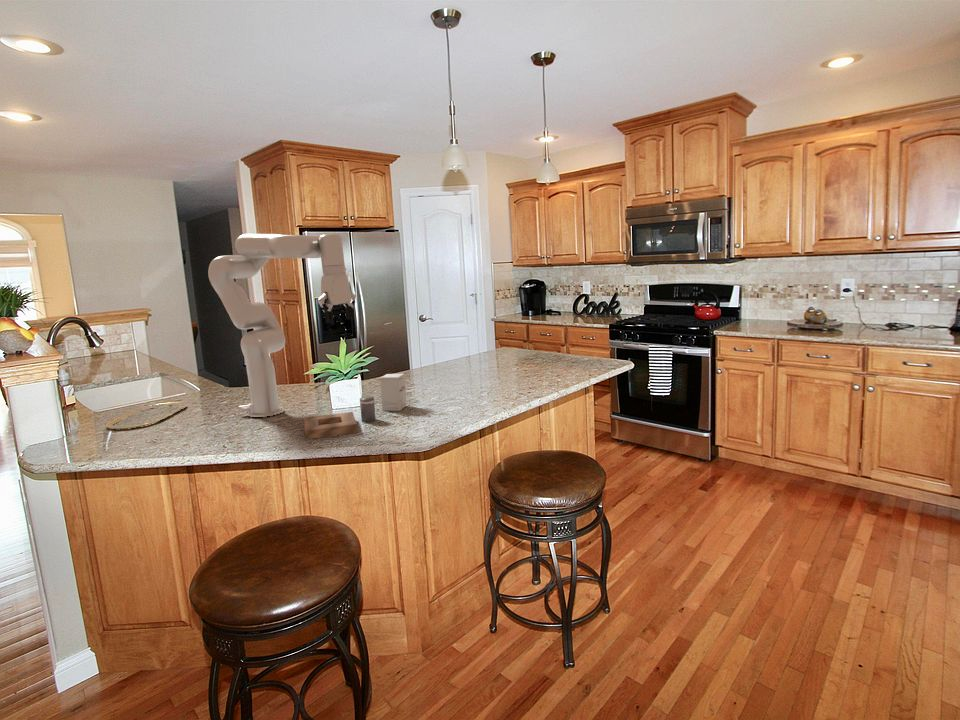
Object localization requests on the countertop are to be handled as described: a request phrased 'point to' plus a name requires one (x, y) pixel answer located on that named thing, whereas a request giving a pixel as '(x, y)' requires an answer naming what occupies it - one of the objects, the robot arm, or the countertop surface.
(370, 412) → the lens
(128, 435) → the countertop surface
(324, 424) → the wooden slotted base
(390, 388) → the supplement box
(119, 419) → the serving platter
